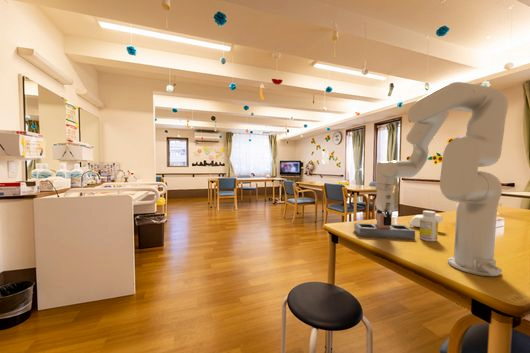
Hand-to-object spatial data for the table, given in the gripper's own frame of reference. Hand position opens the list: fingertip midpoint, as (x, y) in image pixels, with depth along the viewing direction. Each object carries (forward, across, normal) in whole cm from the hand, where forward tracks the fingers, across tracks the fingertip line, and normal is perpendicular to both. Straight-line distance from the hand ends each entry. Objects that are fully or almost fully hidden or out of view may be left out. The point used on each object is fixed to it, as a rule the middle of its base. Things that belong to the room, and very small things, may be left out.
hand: (383, 222), depth 108 cm
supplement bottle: (+6, -4, -18) cm, 19 cm away
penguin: (+6, +16, -27) cm, 32 cm away
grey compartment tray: (+6, 0, 0) cm, 6 cm away
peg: (+6, 0, 0) cm, 6 cm away
